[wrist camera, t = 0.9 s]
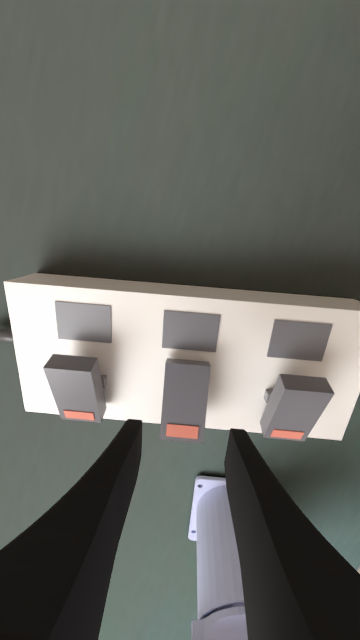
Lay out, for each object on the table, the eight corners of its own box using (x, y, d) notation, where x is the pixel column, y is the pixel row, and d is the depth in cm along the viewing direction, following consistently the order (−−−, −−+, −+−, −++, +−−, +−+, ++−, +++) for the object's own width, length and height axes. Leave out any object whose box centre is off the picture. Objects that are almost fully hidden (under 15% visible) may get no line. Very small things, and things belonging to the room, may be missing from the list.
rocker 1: (106, 407, 18) (100, 423, 17) (68, 404, 18) (60, 419, 17) (97, 357, 15) (90, 372, 14) (53, 353, 15) (42, 368, 14)
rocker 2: (202, 433, 17) (203, 444, 16) (161, 429, 17) (159, 440, 16) (208, 361, 16) (210, 366, 15) (166, 357, 17) (165, 362, 15)
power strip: (318, 408, 22) (346, 446, 18) (6, 380, 22) (-33, 411, 18) (353, 298, 18) (396, 316, 15) (-15, 268, 19) (-69, 278, 15)
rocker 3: (298, 425, 18) (304, 442, 17) (259, 421, 18) (263, 438, 17) (325, 377, 15) (335, 394, 14) (279, 373, 15) (285, 390, 14)
